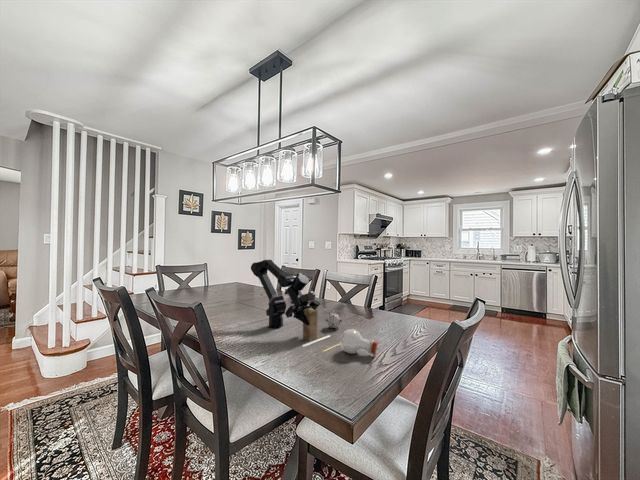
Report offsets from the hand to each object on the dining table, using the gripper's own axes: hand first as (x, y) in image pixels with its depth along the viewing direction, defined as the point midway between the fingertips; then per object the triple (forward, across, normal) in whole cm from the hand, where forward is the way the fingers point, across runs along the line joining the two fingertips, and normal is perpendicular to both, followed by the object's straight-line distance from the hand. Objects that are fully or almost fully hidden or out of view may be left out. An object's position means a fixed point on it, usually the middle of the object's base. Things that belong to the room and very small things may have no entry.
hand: (312, 323), depth 125 cm
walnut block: (+4, 0, +6) cm, 7 cm away
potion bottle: (+23, +2, -12) cm, 26 cm away
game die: (+3, +19, +7) cm, 21 cm away
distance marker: (+14, 0, -4) cm, 15 cm away
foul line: (+7, 0, +3) cm, 8 cm away
